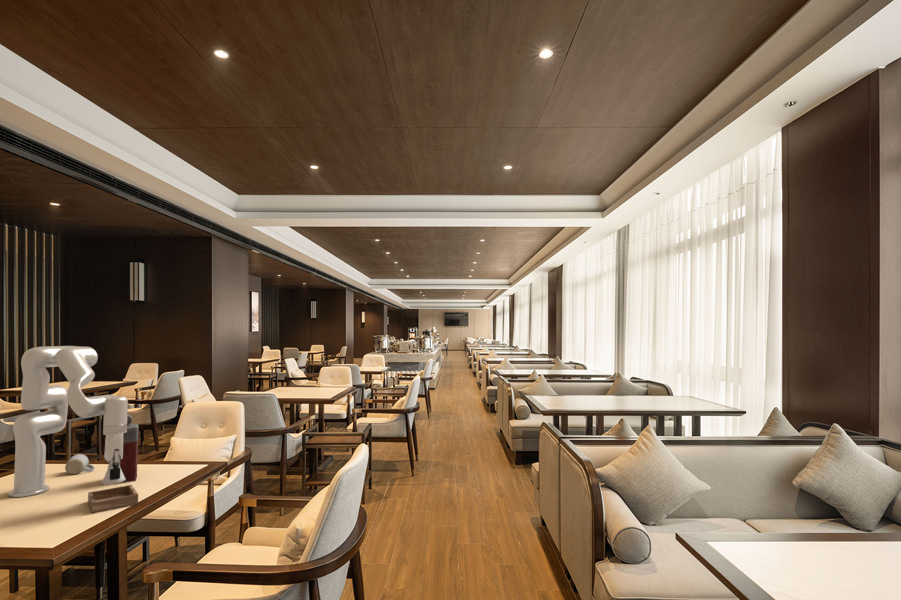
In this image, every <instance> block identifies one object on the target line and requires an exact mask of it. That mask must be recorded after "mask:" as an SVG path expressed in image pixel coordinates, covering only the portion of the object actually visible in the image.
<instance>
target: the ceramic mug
mask: <svg viewBox="0 0 901 600" xmlns="http://www.w3.org/2000/svg"><path fill="white" fill-rule="evenodd" d="M89 462H90V461H89V458H88V456H87V455H85V454H82V453H77V454H74V455H73V456H71V458H70V459H69V460H68V461H67V462H66V463H65V466H64V468H65V472H66V473H67V474H69V475H77V474H79V473H81V472H82V471H84V472H87V473H91V472H93V471H95V466H94V465H93V464H90V463H89Z"/></svg>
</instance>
